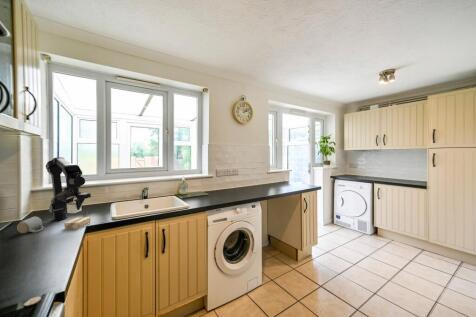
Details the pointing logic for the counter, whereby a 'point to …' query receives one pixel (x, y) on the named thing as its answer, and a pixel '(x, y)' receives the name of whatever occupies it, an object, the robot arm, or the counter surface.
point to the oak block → (77, 223)
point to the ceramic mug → (30, 225)
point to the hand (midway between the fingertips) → (74, 209)
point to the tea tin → (72, 207)
